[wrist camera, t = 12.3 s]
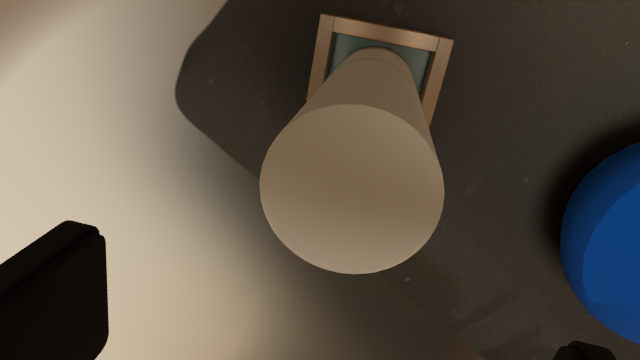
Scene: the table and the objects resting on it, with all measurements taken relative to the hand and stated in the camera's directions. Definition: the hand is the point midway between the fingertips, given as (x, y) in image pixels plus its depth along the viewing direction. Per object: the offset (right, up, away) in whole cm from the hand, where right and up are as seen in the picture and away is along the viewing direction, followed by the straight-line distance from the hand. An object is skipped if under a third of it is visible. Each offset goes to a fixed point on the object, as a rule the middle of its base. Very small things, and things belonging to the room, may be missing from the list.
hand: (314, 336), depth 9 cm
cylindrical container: (+5, +12, +31) cm, 34 cm away
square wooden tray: (+5, +12, +32) cm, 34 cm away
